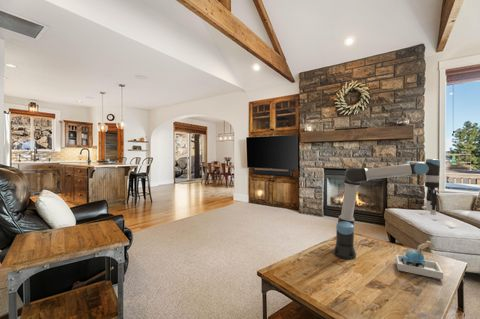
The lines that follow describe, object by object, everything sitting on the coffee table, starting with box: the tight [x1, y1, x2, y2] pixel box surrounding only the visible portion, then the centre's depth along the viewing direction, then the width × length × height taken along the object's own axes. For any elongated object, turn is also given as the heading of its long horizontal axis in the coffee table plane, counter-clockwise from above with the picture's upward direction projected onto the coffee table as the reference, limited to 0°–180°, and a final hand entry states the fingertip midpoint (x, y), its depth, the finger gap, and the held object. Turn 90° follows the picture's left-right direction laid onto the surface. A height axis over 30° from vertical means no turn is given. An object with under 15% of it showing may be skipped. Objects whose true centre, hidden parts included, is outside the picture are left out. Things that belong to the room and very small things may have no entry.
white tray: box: [395, 254, 444, 282], centre depth 150 cm, size 22×15×6 cm
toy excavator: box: [401, 240, 435, 268], centre depth 150 cm, size 9×17×17 cm, turn 78°
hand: (430, 212), depth 162 cm, fingers open, 13 cm apart
